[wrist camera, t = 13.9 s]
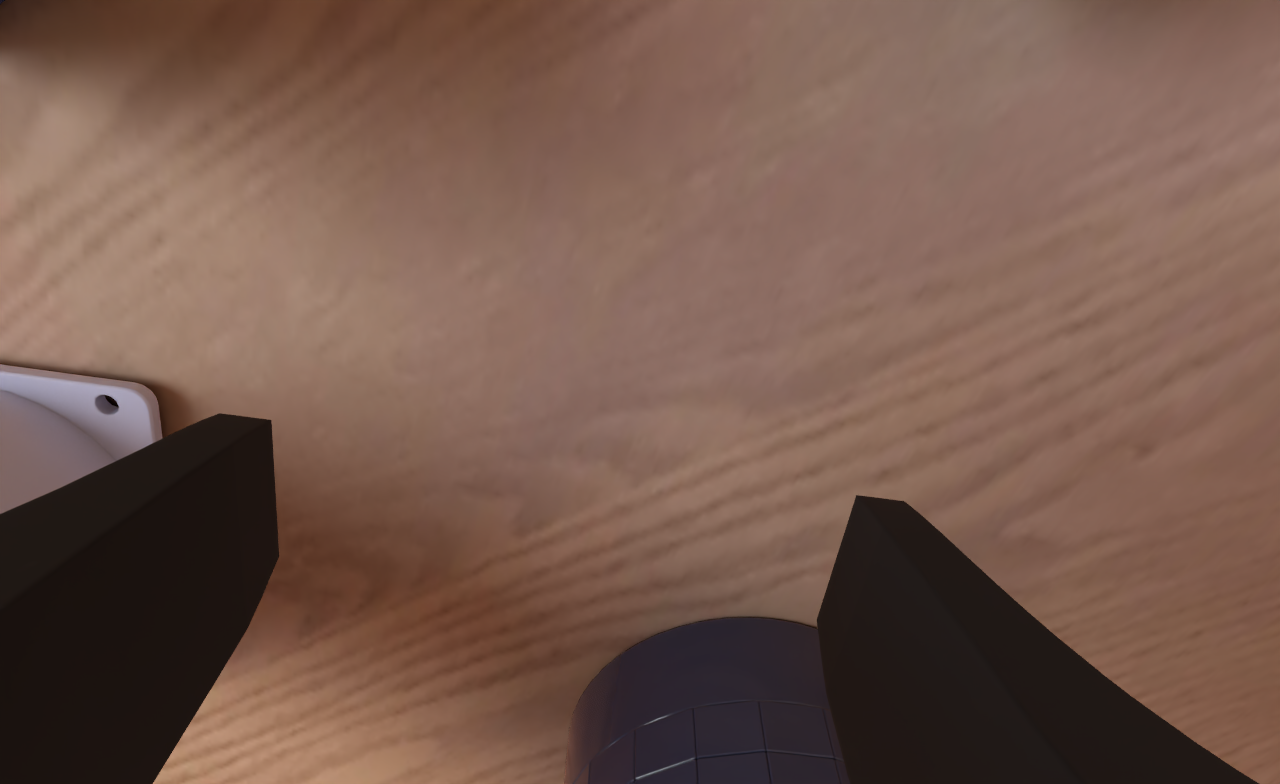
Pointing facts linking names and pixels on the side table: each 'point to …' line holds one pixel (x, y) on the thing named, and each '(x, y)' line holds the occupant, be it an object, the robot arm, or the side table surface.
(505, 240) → the side table surface
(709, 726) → the pot
